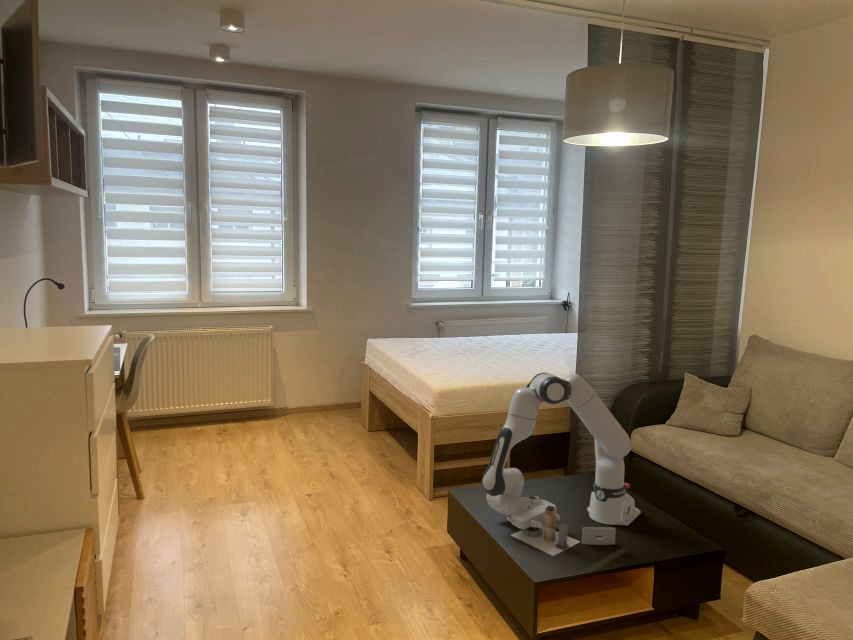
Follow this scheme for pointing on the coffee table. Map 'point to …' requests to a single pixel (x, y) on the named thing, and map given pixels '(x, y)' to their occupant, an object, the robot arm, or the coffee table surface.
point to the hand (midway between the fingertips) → (550, 522)
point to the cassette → (598, 531)
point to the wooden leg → (549, 524)
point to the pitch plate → (536, 539)
